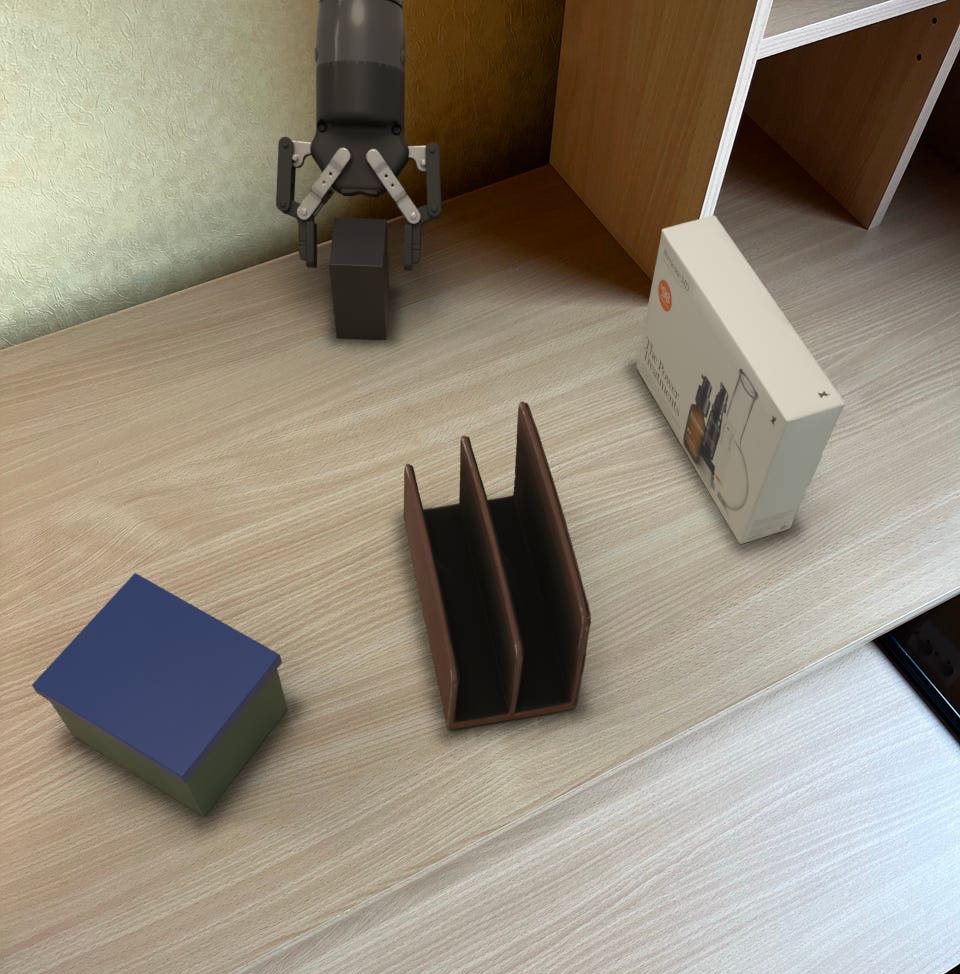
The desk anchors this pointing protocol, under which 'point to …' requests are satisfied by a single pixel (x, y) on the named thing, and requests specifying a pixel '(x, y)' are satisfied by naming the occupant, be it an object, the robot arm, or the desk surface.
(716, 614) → the desk surface
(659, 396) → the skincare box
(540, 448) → the letter holder
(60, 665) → the container
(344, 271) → the case
